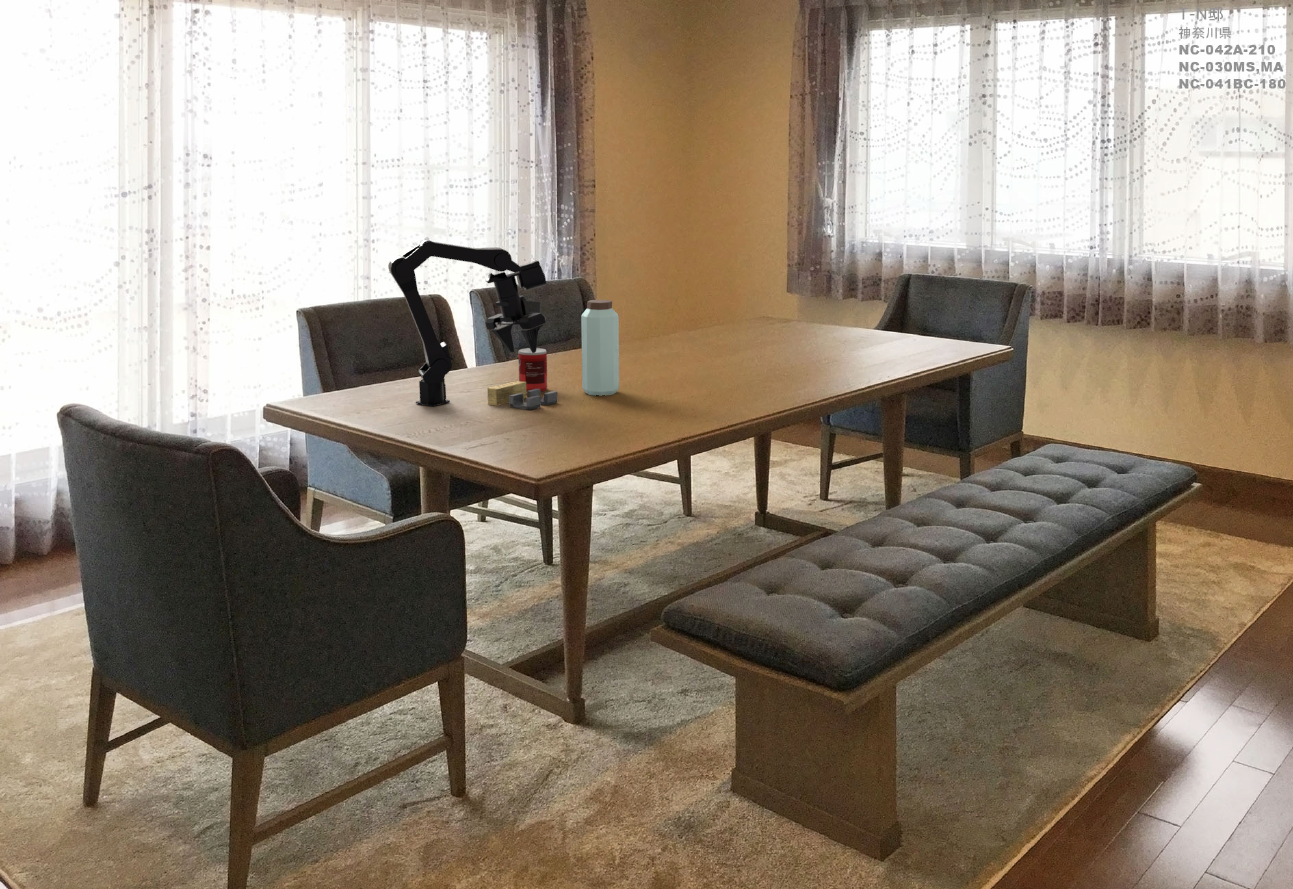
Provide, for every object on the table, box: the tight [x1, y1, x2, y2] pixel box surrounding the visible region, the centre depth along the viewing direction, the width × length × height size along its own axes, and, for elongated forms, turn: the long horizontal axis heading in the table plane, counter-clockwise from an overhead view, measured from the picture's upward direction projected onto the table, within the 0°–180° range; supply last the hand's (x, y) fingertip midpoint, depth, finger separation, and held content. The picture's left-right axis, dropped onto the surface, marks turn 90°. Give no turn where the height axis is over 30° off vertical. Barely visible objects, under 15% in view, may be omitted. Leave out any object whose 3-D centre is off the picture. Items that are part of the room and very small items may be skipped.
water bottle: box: [580, 299, 620, 397], centre depth 336 cm, size 10×10×25 cm
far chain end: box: [526, 389, 558, 406], centre depth 326 cm, size 4×7×3 cm, turn 55°
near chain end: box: [509, 393, 541, 411], centre depth 321 cm, size 4×7×3 cm, turn 55°
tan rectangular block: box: [487, 380, 527, 407], centre depth 328 cm, size 12×3×4 cm, turn 145°
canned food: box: [517, 347, 548, 393], centre depth 342 cm, size 8×8×11 cm
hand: (523, 352), depth 330 cm, fingers open, 9 cm apart
